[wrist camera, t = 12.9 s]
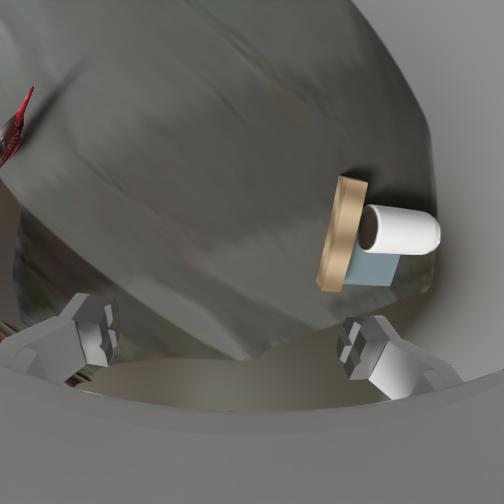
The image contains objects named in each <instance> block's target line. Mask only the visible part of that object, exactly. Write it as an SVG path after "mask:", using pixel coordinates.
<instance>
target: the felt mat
mask: <svg viewBox="0 0 504 504" xmlns="http://www.w3.org/2000/svg"><path fill="white" fill-rule="evenodd" d="M362 209H363V208H362ZM400 255H401V254H386V253H368V252H365V251H364V250H363V249H362V248H361V247H360V246H359V244H358V241H357V236H356V238H355V242H354V245H353V249H352V253H351V257H350V261H349V264H348V268H347V271H346V275H345V278H344V282H343V284H357V285H376V286H390V285H391V282H392V279H393V276H394V273H395V270H396V267H397V264H398V261H399V258H400Z"/></svg>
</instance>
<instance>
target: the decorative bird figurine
mask: <svg viewBox="0 0 504 504" xmlns="http://www.w3.org/2000/svg"><path fill="white" fill-rule="evenodd" d="M33 89H34V86H33V87H32V88H31V89H30V91H29V92H28V94H27V96H26V97H25V99H24V101H23V102H22V104H21V106H20V108H19V109H18V111H17V113H16V114H15V115H14V116H13V117H12V118H11V119H10V120H9V121H8V122H7V123H6V124H5V125H4V126H3V127H2V128H1V130H0V168H1V167H2V166H3V164H4V163H5V162H6V161H7V160H8V158H9V157H10V158H11V157H12V155H13V154H14V153H15V152H16V151H17V149H18V147H19V145H20V142H21V141H22V139H23V138H22V137H23V136H24V135H25V134H24V135H23V136H22V137H21V138H20V135H21V132H22V129H23V126H24V112H25V109H26V106H27V104H28V101H29V99H30V97H31V94H32V92H33ZM11 154H12V155H11ZM10 158H9V160H10Z"/></svg>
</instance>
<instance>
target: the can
mask: <svg viewBox="0 0 504 504" xmlns="http://www.w3.org/2000/svg"><path fill="white" fill-rule="evenodd" d="M356 236H357V241H358V244H359V246H360V247H361V248H362V249H363V250H364V251H365V252H368V253H386V254H413V255H423V254H426V253H428V252H432V251H434V250H435V249H436V248H437V247H438V245H439V243H440V239H441V227H440V224H439V222H438V220H437V219H436V218H435V217H434V216H431V215H430V214H428V213H426V212H422V211H416V210H410V209H403V208H396V207H388V206H380V205H367V206H365V207H364V208H363V209H362V213H361V217H360V221H359V225H358V230H357V234H356Z"/></svg>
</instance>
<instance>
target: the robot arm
mask: <svg viewBox="0 0 504 504" xmlns="http://www.w3.org/2000/svg"><path fill="white" fill-rule="evenodd" d="M118 310H119V309H118V303H117V300H116V299H113V298H107V297H101V296H96V295H90V294H84V293H76V294H75V296H74V297H73V298H72V299H71V301H70V302H69V303H68V305H67V306H66V307H65V308H64V310H63V311H62V312H61V314H60V315H59V316H58V317H56V316H54V317H52V318H50V319H47V320H45V321H43V322H41V323H38V324H36V325H34V326H32V327H29V328H27V329H25V330H23V331H21V332H18V333H16V334H14V335H12V336H10V337H7V338H5V339H4V340H3V341H2V342H1V344H0V504H504V369H502V370H499V371H497V372H494V373H491V374H489V375H486V376H483V377H480V378H477V379H474V380H471V381H468V382H463V380H462V379H461V378H460V377H459V375H458V374H457V372H456V371H455V370H454V369H453V367H452V366H451V365H450V364H448V363H446V362H444V361H442V360H440V359H439V358H437V357H435V356H433V355H431V354H430V353H428V352H426V351H424V350H422V349H421V348H419V347H417V346H415V345H413V344H412V343H410V342H408V341H406V340H402V339H401V338H400V336H399V335H398V334H397V333H396V331H395V330H394V328H393V327H392V326H391V324H390V323H389V322H388V320H387V319H386V318H385V317H384V316H355V317H347V318H346V319H345V321H344V324H343V327H344V330H345V331H344V332H343V333H342V334H340V335H339V338H338V341H337V354H338V357H339V359H340V360H341V361H343V362H344V363H345V365H344V367H343V368H344V370H345V372H346V375H347V377H348V379H349V380H356V379H369V380H370V381H371V382H372V383H373V384H374V385H376V386H377V387H378V388H379V389H380V390H381V391H383V392H384V393H385V394H386V395H387V396H389V397H390V398H391V399H392V400H390V401H386V402H379V403H373V404H367V405H359V406H351V407H343V408H333V409H321V410H307V411H286V412H285V411H284V412H235V411H214V410H199V409H188V408H179V407H170V406H162V405H155V404H148V403H141V402H136V401H130V400H125V399H119V398H114V397H109V396H105V395H100V394H96V393H92V392H87V391H84V390H80V389H76V388H72V387H69V386H65V385H61V383H63V382H64V381H65V380H66V379H68V378H69V377H70V376H72V375H73V374H74V373H76V372H77V371H78V370H79V369H81V368H82V367H83V366H85V365H86V363H89V364H94V365H100V366H106V367H108V366H109V364H110V362H111V359H112V357H113V354H114V353H113V348H114V347H116V346H117V345H118V342H119V339H120V334H121V324H120V320H119V318H118V317H117V316H116V314H117V312H118Z"/></svg>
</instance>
